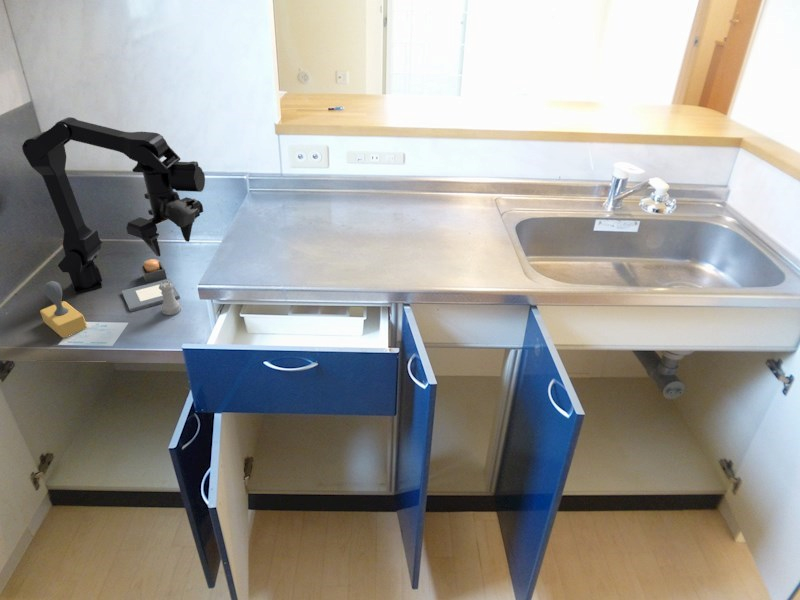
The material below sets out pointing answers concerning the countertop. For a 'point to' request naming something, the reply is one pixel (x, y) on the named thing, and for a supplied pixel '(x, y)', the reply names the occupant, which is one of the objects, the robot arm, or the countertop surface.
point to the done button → (151, 265)
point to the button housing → (154, 274)
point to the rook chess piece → (169, 299)
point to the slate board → (145, 295)
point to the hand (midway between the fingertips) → (173, 248)
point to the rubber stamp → (61, 312)
